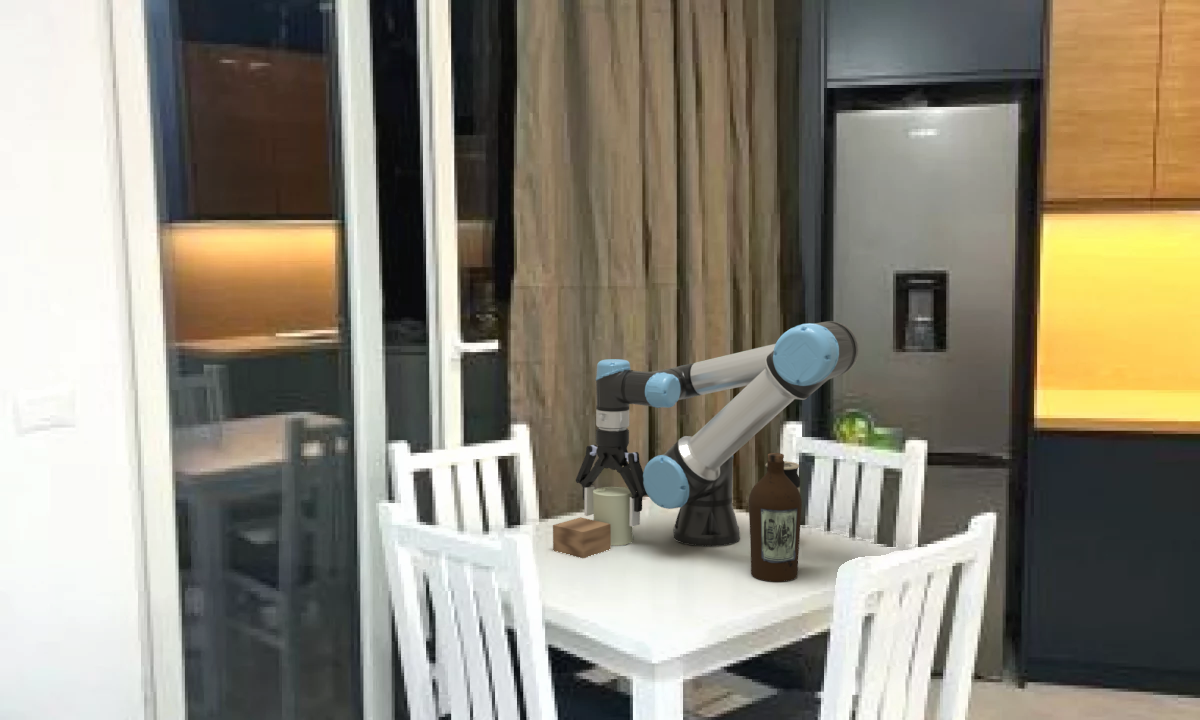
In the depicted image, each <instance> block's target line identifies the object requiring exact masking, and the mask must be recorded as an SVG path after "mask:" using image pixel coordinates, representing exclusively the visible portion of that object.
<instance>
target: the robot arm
mask: <svg viewBox="0 0 1200 720" xmlns="http://www.w3.org/2000/svg"><path fill="white" fill-rule="evenodd" d="M859 352H860V347H859V341H858V338H857V337H856V335H855V333H854V332H853V330H852V329H850V327H848V326H847V325H845V324H844V323H841V322H838V321H833V320H828V321H821V322H816V323H809V322H808V323H802V324H798V325H795V326H794V327H790V329H788V330H787V331H785V332H783V333H782V334H781V335H780V337H779V338H778V339H777V341H776V343H773V344H768V345H764V346H761V347H760V346H759V347H755V348H752V349H747V350H744V351H740V352H735V353H734V352H733V353H731V354H726V355H722V356H718V357H713V358H709V359H706V360H701V361H697V362H693V363H688V364H683V365H679V366H675V367H670V368H665V369H659V370H654V371H641V370H633V369H631V363H630V362H629V360H626V359H621V358H620V359H618V358H617V359H615V358H614V359H613V358H612V359H610V358H609V359H601V360H600V361H598V363H597V364H596V377H595V385H596V386H595V389H596V392H595V393H596V404H595V405H596V412H595V413H596V414H595V417H596V418H595V425H596V427H597V429H595V444H591V445H587V446H586V449H585V450H586V451H585V456H584V458H583V461H582V463H581V466H580V468H579V471H578V473H577V475H576V478H575V482H576V483H577V484H580V485H581V487H582V500H583V501H584V515H583V516H585V517H586V516H587V517H588V516H592V515H594V506H593V490H595V489H596V486H594V485H595V483H594V482H595V481H596V479H597V478H598V477H599V476H600V474H601V473H602V472H603V470H604V469H610V470H612V471H616V472H617V474H620V477H621V478H622V480H623V482H624V483H625V485H626V488H628V489H629V490H630V492H631V494H632V495H633V496H632V497H630V526H631V527H632V528H634V527H636V526H639V525H640V524H641V513H640V512H642V510H643V497H644V496H648V497H649V499H650V500H651V501H652V502H653V503H654V504H655V505H657V506H659V507H660V508H662V509H667V510H669V509H670V510H673V509H678V508H679V510H678V513H677V516H676V519H675V523H674V526H673V539H674V540H675V541H677V542H678V543H682V544H684V545H689V546H697V547H721V546H728V545H732V544H735V543H737V542H738V541H740V539H741V538H740V532H741V531H740V526H739V525H738V519H737V516H736V513H735V510H734V507H733V478H734V477H733V475H734V473H733V472H734V471H733V470H734V469H733V467H734V466H733V465H734V454H735V453H737V452H738V451H739V450H740V449H741V448H742V447H743V446H744V445H746V444H747V443H748V442H749V441H750V440H752V438H753V437H754V436H755V435H756V434H757V433H759V432H760V431H761V430H762V429H763V428H765V426H766V425H768V424H770V422H771V421H772V420H773V419H775V417H777V415H778V414H780V413H781V412H782V411H783V410H784V409H785V408H786V407H787V406H789V405H790V404H791V403H792V402H794V400H802V401H803V400H806V399H807V398H809V397H810V396H811V395H812V394H813V393H814V392H816V391H817V390H818V389H819V388H820V387H822V385H824V384H825V383H827V382H828V381H829V380H830V379H835V378H839V377H841V376H843V375H845V374H846V373H848V372H849V371H850V370H851V369H852V368H853V367H854V365H856V364H857V363H856V362H857V360H858V358H859V354H860V353H859ZM742 387H744V388H743V389H742V390H741V391H740V392H739V393H738V394H736V396H734V398H732V399H731V400H730V401H729V402H728V403H727V404H726V405H725V406H724V407H723V408H721V410H719V411H718V412H717V413H716V414H715V415H714V416H713V417H712V418H711V419H710V420H709V421H708V422H707V423H706V424H705V425H703V426H702V427H701V428H699V430H698V431H697V432H696V433H695V434H694V435H693V436H689V435H688V436H687V435H684V436H682V437H681V438H679V439H678V440H677V441H676V442H675V443H674V444H673V445H672V446H671V447H669V449H667V451H666V452H665V453H663V454H661V455H660V454H659V455H656V456H654V457H653V458H651V459H650V460H649V461H648V462H647V463H646V464H645V467H644V470H643V467H642V465H641V463H640V453H639V452H638V451H633V452H629V451H628V446H629V444H630V430H629V427H630V405H637V406H644V407H645V406H646V407H653V408H658V409H661V408H665V409H667V408H673V407H674V406H675V405H676V403H677V402H678V401H680V400H686V399H691V398H694V397H700V396H702V395H707V394H708V395H709V394H712V393H717V392H721V391H722V392H723V391H727V390H730V389H736V388H742ZM597 457H598V458H597ZM596 458H597V460H596ZM595 460H596V462H595ZM593 464H594V465H593Z"/></svg>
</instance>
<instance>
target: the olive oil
mask: <svg viewBox="0 0 1200 720" xmlns="http://www.w3.org/2000/svg"><path fill="white" fill-rule="evenodd" d="M784 456H785V455H784V454H783V453H779V452H771V453H768V454H767V461H766V463H767V467H766V469H767V470H766V471H767V472H766V473H765V474H764V475H763V476H762V477H761V478H760V479H759V480H758V481H757V483H756V484H754V485H753V487H752V488H751V491H750V494H749V498H748V515H749V539H750V540H749V543H750V546H749V547H750V574H751V576H752V577H753V578H754V579H757V580H760V581H765V582H772V583H782V582H790V581H794V580H795V579H797V578H798V572H799V571H798V570H799V554H800V553H799V551H800V535H801V534H800V533H801V522H802V507H803V501H802V496H801V491H800V492H799V490H798V488H797V487H796V486H795V485H794V484H793V483H792V481H791V480H790V479H789V478H788V477H787V476H786V475H785V473H784V461H785V460H784V458H785V457H784Z"/></svg>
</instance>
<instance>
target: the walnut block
mask: <svg viewBox="0 0 1200 720" xmlns="http://www.w3.org/2000/svg"><path fill="white" fill-rule="evenodd" d="M611 547H612V546H611V524H608V523H604V522H599V521H595V520H594V519H590V518H585V517H581V516H579V517H578V518H574V519H570V520H566V521H562V522H559V523H556V524H553V525H552V551H553V550H554V551H553V552H556V551H558V552H557V553H560V552H562V553H561V554H563V553H566V554H565V555H567V554H570V555H569V556H571V555H573V556H572V557H575V556H576V557H575V558H579V557H580V559H586V558H589V557H588V556H590V557H592V556H591V555H593V556H594V554H596V555H598V553H599V554H602V553H604V551H605V552H607V551H606V550H608V551H610V550H609V549H611ZM601 552H602V553H601Z"/></svg>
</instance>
